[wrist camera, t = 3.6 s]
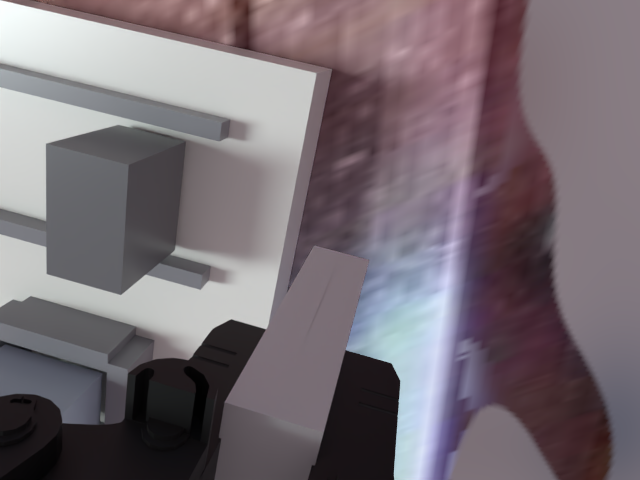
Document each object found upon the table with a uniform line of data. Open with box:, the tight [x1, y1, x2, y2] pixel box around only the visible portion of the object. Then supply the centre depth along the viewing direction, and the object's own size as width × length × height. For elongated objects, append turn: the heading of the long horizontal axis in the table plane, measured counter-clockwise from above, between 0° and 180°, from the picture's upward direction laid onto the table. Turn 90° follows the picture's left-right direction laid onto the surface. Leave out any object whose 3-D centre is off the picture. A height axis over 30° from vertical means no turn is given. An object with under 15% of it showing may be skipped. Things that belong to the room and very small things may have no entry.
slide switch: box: [46, 125, 186, 295], centre depth 16 cm, size 4×2×4 cm, turn 168°
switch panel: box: [0, 0, 332, 425], centre depth 22 cm, size 26×15×5 cm, turn 168°
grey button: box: [0, 344, 102, 425], centre depth 19 cm, size 4×4×3 cm
